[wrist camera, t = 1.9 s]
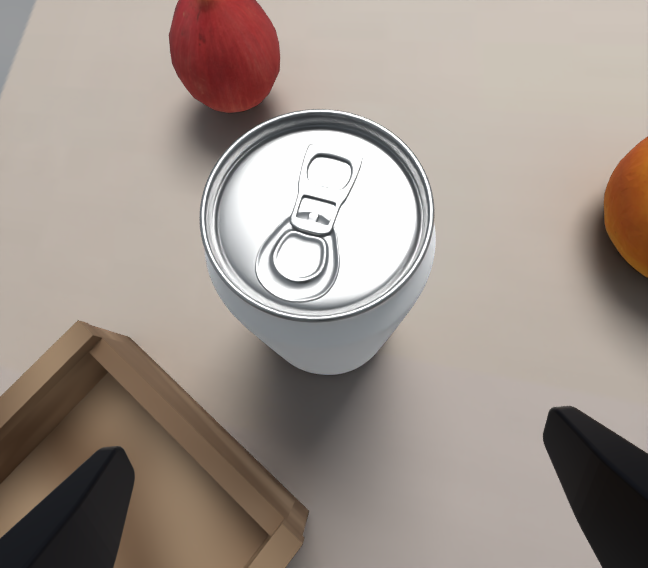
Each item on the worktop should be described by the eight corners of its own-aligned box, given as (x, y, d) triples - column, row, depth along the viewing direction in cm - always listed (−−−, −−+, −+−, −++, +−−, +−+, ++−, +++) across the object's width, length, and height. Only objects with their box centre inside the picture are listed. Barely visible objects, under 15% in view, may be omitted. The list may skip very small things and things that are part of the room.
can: (250, 355, 20) (136, 294, 9) (289, 244, 22) (237, 71, 11) (371, 392, 20) (418, 380, 8) (402, 274, 21) (477, 125, 10)
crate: (104, 782, 16) (24, 915, 12) (-73, 542, 18) (-188, 581, 14) (310, 512, 18) (302, 544, 14) (128, 335, 21) (77, 320, 17)
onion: (178, 111, 25) (107, -18, 17) (237, 53, 26) (195, -92, 18) (247, 158, 24) (204, 42, 16) (305, 94, 25) (291, -42, 17)
